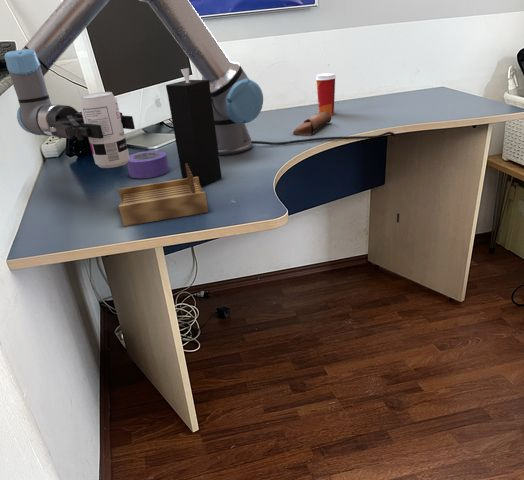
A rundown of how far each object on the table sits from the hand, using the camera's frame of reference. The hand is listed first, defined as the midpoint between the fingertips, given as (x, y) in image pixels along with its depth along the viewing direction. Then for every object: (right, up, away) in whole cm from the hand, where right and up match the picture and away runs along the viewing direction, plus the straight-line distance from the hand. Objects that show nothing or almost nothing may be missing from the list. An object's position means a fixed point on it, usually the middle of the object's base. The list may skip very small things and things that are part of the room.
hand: (116, 127), depth 118 cm
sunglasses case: (+50, +28, +69) cm, 90 cm away
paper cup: (+58, +41, +86) cm, 112 cm away
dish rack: (+9, -16, +11) cm, 21 cm away
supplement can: (-3, -6, +8) cm, 10 cm away
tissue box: (+16, -3, +28) cm, 33 cm away
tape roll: (-1, +3, +40) cm, 40 cm away
